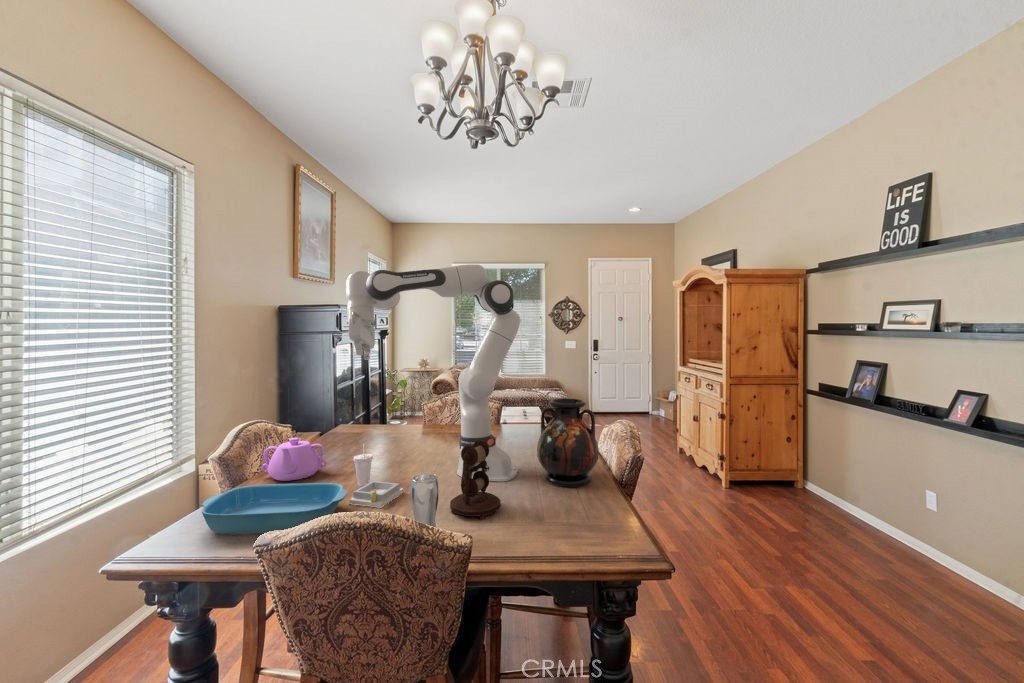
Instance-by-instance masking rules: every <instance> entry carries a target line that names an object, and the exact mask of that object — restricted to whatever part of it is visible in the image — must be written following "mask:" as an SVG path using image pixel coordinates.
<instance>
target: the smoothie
mask: <svg viewBox="0 0 1024 683" xmlns="http://www.w3.org/2000/svg"><path fill="white" fill-rule="evenodd" d="M362 447H363V448H362V450H363V452H362V453H361V454H357V455H354V456H353V462H354V466H355V473H356V481H357V486H358V485H359V486H358V487H363V486H364V485H366V484H368V483H370V479H371V470H372V462H373V461H372V460H374V457H373V454H370V453H366V444H365V443H363V444H362Z"/></svg>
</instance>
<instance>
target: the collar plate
mask: <svg viewBox="0 0 1024 683" xmlns="http://www.w3.org/2000/svg"><path fill="white" fill-rule="evenodd" d="M400 486H401V484H400V483H397V482H396V483H395V482H389V481H388V482H386V481H379V480H377V481H376V480H371V481H369V483H368V484H366V485H364V486H360V487H359V488H357V489H356V490H354V491H353V496H352V497H351V498H350V499H349V500H348V503H352V504H361V505H370V506H373V507H377V508H376V509H380V508H381V509H383V508H382V506H383V505H385V504H387V503H388V504H390V503H391V502H392V500H393V499H394V500H396V499H397V498H398V497H400V496H401V495H403V494H404V493H403V492H404V488H402V487H400ZM402 493H403V494H402ZM400 494H401V495H400ZM399 495H400V496H399ZM396 497H397V498H396ZM395 498H396V499H395ZM394 500H393V501H394ZM390 501H391V502H390ZM389 502H390V503H389ZM388 504H387V505H388ZM385 506H386V505H385Z"/></svg>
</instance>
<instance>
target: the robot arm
mask: <svg viewBox="0 0 1024 683" xmlns="http://www.w3.org/2000/svg"><path fill="white" fill-rule="evenodd" d="M487 272H488V271H487V270H486V269H485V267H484V266H483V265H480V264H461V265H454V266H447V267H443V268H442V267H441V268H433V269H430V268H429V269H420V270H410V271H399V272H398V271H391V270H387V269H378V270H375V271H373V272H372V273H369V272H367V271H361V270H360V271H355V272H353V273H351V274H349V275H348V276H347V279H346V282H345V299H346V302H347V306H346V320H347V323H346V324H348V337H349V340H351V341H352V342H353V344H354V348H355V354H356V355H357V356H363V360H365V361H366V360H367V361H368V360H369V361H370V359H371V349H374V348H375V339H376V338H375V336H376V334H375V328H376V327H377V323H376V322H377V321H376V320H375V311H374V310H375V309H383V310H388V309H389V310H390V309H392V308H395V307H396V306H397V305H398V304H399V303H400V300H401V294H400V293H401V292H402V293H403V292H409V291H415V290H429V291H430V290H431V292H432V291H433V292H434V293H436V294H437V295H439V296H440V297H442V298H457V297H463V296H467V295H474V297H475V298H476V301H477V302H478V304H479V306H480V307H481V309H483V311H486V312H487V313H490V314H491V317H490V321H489V323H488V325H487V327H486V330H485V332H484V333H483V335H482V337H481V339H480V341H479V343H478V345H477V347H476V350H475V353H474V356H473V359H472V361H471V363H470V365H469V366H467V367H465V368H464V369H463V370H461V372H460V374H459V376H458V396H459V409H460V435H459V450H460V451H459V452H460V454H459V461H458V465H457V466H458V467H457V470H456V474H457V475H458V476H459V477H461V478H462V472H463V460H462V458H461V451H462V449H463V448H464V447H465V446H467V445H470V446H473V444H474V443H475V442H476V441H478V440H482V441H484V442H486V443H487V445H488V447H489V454H488V456H487V457H486V459H485V461H486V462H487V466H486V468H485V472H486V474H487V476H488V478H489V482H508V481H511V480H513V479H514V478H515V477H516V476H517V475H518V468H517V467H516V466H512V465H513V464H512V459H511V457H510V455H509V454H508V453H507V452H506V451H504V450H503V449H502V448H501V447H499V445H497V435H493V434H492V431H491V430H492V429H491V427H492V426H491V425H492V424H491V423H492V420H491V418H492V416H491V410H490V403H489V397H490V396H491V395H492V394H493V393H494V389H495V385H496V382H497V380H498V377H499V374H500V371H501V370H502V369H501V368H502V365H503V363H504V360H505V359H506V357H507V355H508V353H509V350H510V349H511V346H512V345H513V343H514V341H515V339H516V336H517V334H518V331H519V328H520V325H521V317H520V315H519V314H518V313H517V311H516V310H515V309H514V308H515V307H514V306H515V305H514V290H513V288H512V286H511V285H510V284H509V283H508V282H507V281H505V280H502V279H501V280H500V279H496V280H492V281H491V280H490V279H489V276H488V273H487ZM478 464H479V463H478ZM478 464H476V465H478ZM476 465H475V466H476ZM481 470H482V469H481V468H479V470H477V471H481ZM477 471H475V472H477ZM475 472H473V473H472V479H473V475H474V473H475Z"/></svg>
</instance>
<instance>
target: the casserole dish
mask: <svg viewBox="0 0 1024 683" xmlns="http://www.w3.org/2000/svg"><path fill="white" fill-rule="evenodd" d="M347 495H348V491H347V490H346V489H344V486H343V485H342V484H340V483H335V482H334V483H333V482H313V483H311V482H307V483H302V482H301V483H279V484H278V483H277V484H275V483H273V484H254V485H246V486H240V487H235V488H233V489H231V490H228V491H224V492H222V493H220V494H215V495H213V496H211V497H208V498H207V499H206V500H204V502H203V503H202V504H201V506H202V509H201V513H202V515H203V516H202V517H203V519H204V521H205V523H206V524H207V527H208V528H209V529H210V530H211V531H212V532H214V533H215V534H219V535H257V534H258V535H259V534H266V533H265V532H269V531H274V530H284V529H288V528H292V527H295V526H298V525H300V524H302V523H305V522H308V521H310V520H313V519H315V518H318V517H321V516H324V515H328V514H332V513H333V514H334V512H335V510H336V509H337V507H338V505H339V502H341V501H343V500H344V499H345V498H346V497H347ZM333 514H332V515H333ZM255 533H257V534H255Z"/></svg>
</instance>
